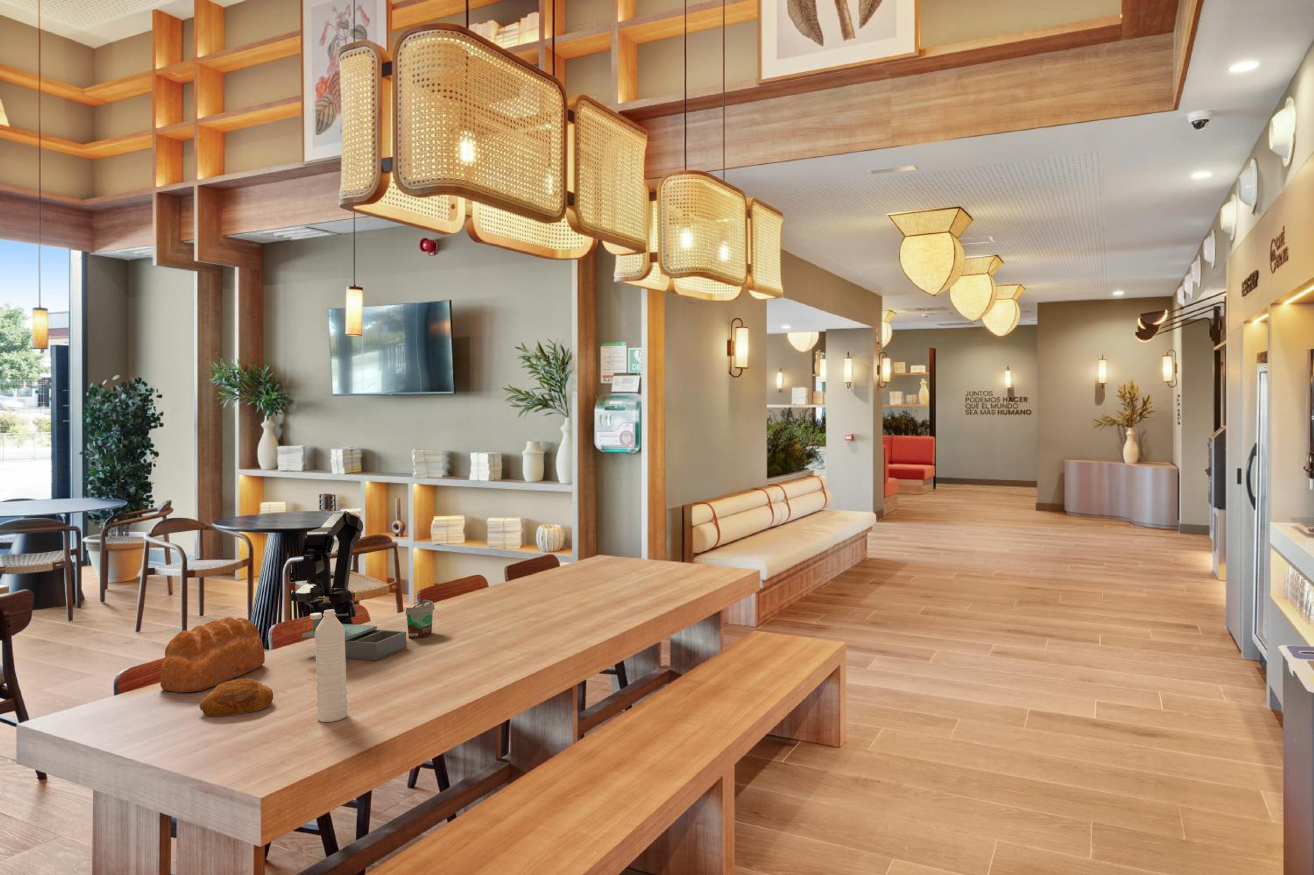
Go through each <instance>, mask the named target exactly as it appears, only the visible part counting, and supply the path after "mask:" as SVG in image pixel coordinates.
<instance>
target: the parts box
mask: <svg viewBox="0 0 1314 875" xmlns="http://www.w3.org/2000/svg"><path fill="white" fill-rule="evenodd" d="M407 644H408V642H407V631H400V630H387V629H375V630H372V631H370V632H367V633H364V634H362V635H359V636H356V637H354V638H351V639H348V640H345V655H346V656H345V658H346V659H348V660H349V659H350V660H359V661H371V662H374V661H375V662H378V661H381V660H382V659H384V658H387V657H390V656H391V655H394V654H396V653H399V652H401V651H403V650H406V649H407V647H408V645H407Z"/></svg>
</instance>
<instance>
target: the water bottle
mask: <svg viewBox="0 0 1314 875" xmlns="http://www.w3.org/2000/svg"><path fill="white" fill-rule="evenodd" d="M334 611H335V610H333V609H329V610H325V611H324V614H323V615H324V617H323V619H322V620H321V622H320V624H319V625H318V627H317V628H316V631H315V638H314V642H315V645H314V646H315V674H316V676H315V677H316V678H315V682H316V698H317V700H316V707H317V709H316V713H317V714H316V718H317V721H320V722H323V723H326V722H327V723H330V722H331V723H332V722H335V721H336V722H337V721H342V720H343V719H345V718H347V716H348V697H347V694H348V692H347V691H348V689H347V661H346V659H347V658H345V656H346V655H345V629H344V627H343V625H342V624H341V622H340V621H339V620H338V619H337V617H336V616H335V614H336V613H335V612H334ZM318 617H319V618H318ZM320 618H322V614H321V613H310V614H309V619H310V620H313V619H320Z"/></svg>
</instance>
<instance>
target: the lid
mask: <svg viewBox="0 0 1314 875" xmlns="http://www.w3.org/2000/svg"><path fill="white" fill-rule="evenodd" d="M318 618H319V617H318ZM321 620H322V618H320V619H312V627H313V628H312V629H313V630H310V631H306V632H304V633H301V638H310V639H311V638H312V639H315V631H316V628H317V627H318V625H319V624H320V622H321ZM342 625H343V627H344V629H345V640H348V639H351V638H354V637H356V636H359V635H362V634H364V633H367V632H370V631H372V630H378V626H377V625H367V624H354V623H353V624H342Z"/></svg>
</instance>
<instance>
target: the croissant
mask: <svg viewBox="0 0 1314 875" xmlns="http://www.w3.org/2000/svg"><path fill="white" fill-rule="evenodd" d="M273 700H274V692H273V689H272V688H271V687H269V686H268V685H264V684H262V683H261V682H260V681H258V680H256V679H254V678H238V679H231V680H228V681H226V682H223V683H220V684H218V685H215V688H214V689H213V690H212V691H210V692H209V693H208V694H207V695H206V696H205V697H204V698H202V700H201V701H200V703H199V709H200V711H202V713H203V715H205V716H206V717H224V716H233V715H234V716H235V715H241V714H246V713H247V714H248V713H253V712H256V711H257V712H258V711H261V710H263V709H266V708H268V707H270V706H271V704H272V702H273Z"/></svg>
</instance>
